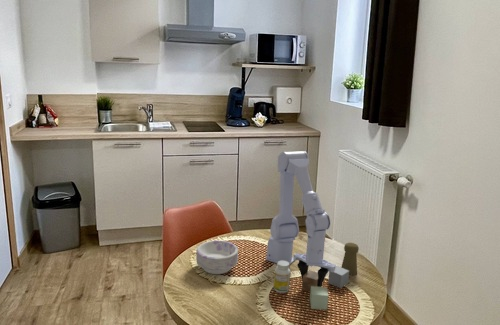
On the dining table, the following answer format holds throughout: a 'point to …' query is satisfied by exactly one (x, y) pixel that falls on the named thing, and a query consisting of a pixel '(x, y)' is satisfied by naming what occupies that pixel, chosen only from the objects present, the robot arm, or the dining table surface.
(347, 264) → the olive brown rounded piece
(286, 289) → the supplement bottle
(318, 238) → the robot arm
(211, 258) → the white purple bowl
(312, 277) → the walnut block
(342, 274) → the slate grey block
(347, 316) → the dining table surface
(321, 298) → the sage green block
